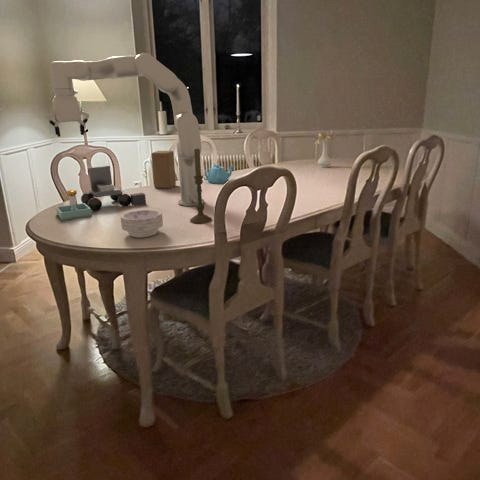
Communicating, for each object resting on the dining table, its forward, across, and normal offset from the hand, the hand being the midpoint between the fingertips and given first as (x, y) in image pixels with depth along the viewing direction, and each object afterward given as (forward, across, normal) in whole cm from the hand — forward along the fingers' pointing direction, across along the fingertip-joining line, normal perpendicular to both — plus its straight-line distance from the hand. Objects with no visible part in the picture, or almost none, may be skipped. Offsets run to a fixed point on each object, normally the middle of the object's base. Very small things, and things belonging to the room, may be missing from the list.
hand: (70, 135), depth 183 cm
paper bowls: (+35, -12, +47) cm, 60 cm away
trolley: (+34, -13, -7) cm, 37 cm away
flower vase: (+34, -167, -23) cm, 172 cm away
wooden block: (+34, -53, -31) cm, 70 cm away
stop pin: (+34, +4, +2) cm, 34 cm away
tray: (+34, +4, +2) cm, 35 cm away
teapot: (+35, -85, -24) cm, 95 cm away
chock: (+34, -26, 0) cm, 43 cm away
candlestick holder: (+34, -38, +44) cm, 68 cm away
